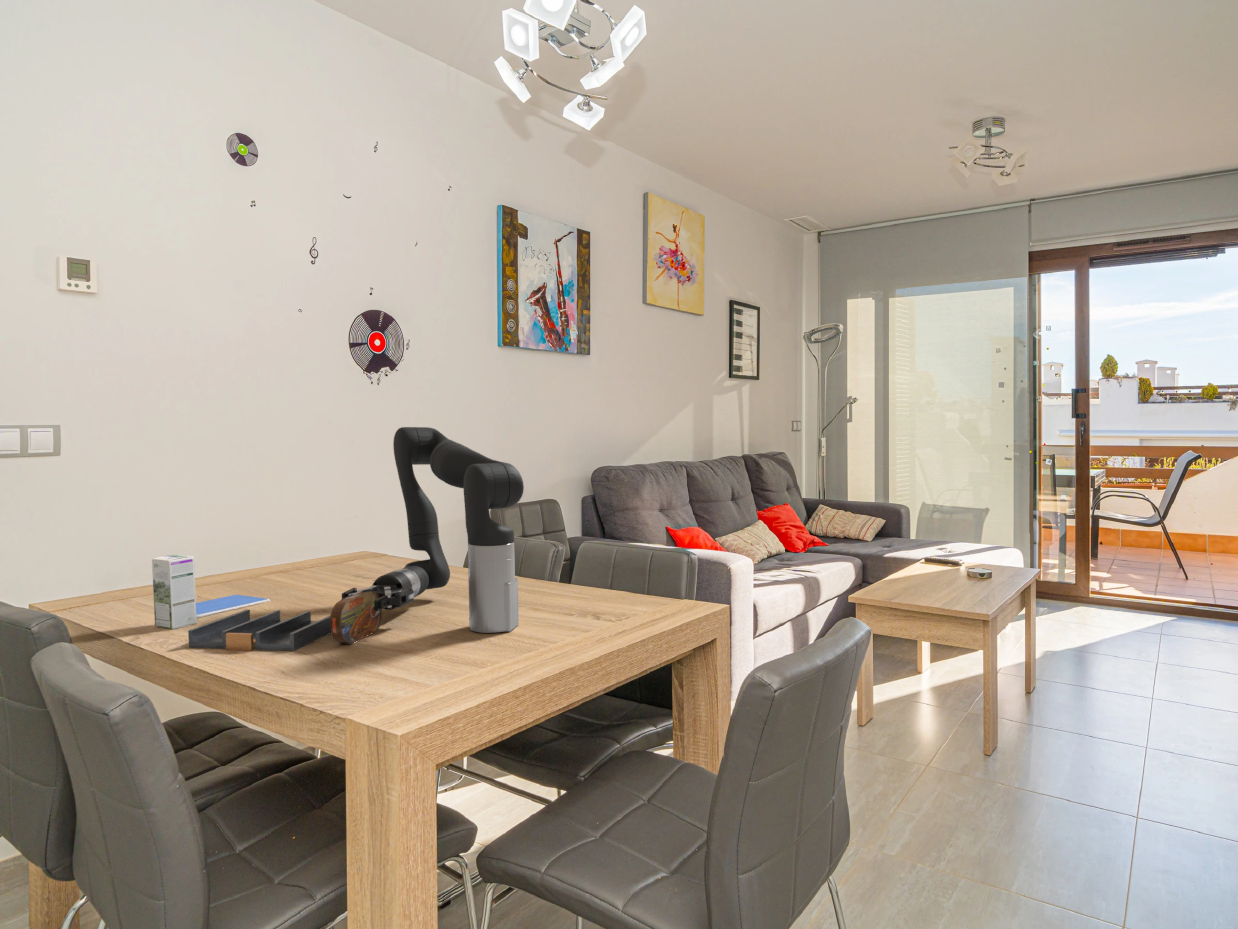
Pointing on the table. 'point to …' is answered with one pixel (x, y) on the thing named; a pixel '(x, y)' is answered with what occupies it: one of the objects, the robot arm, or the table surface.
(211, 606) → the tablet computer
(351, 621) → the tin
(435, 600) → the table surface
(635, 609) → the table surface
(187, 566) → the syrup box
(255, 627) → the rack
